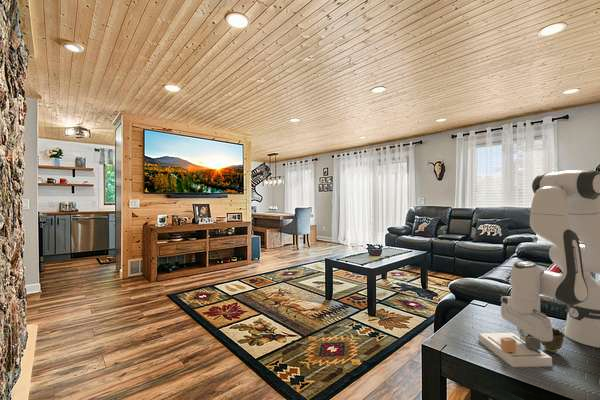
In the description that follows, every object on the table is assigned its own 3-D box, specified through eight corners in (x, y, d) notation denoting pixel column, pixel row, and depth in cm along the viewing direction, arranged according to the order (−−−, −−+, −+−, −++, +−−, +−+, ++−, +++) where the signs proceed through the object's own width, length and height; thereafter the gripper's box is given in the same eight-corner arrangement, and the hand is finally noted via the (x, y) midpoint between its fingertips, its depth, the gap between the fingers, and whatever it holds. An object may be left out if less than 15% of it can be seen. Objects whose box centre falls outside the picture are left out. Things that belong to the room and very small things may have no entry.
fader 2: (534, 346, 105) (534, 335, 105) (540, 349, 103) (540, 338, 103) (525, 346, 105) (525, 335, 105) (530, 349, 102) (530, 338, 102)
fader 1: (510, 348, 104) (510, 337, 104) (515, 351, 101) (515, 340, 101) (501, 348, 104) (501, 337, 104) (506, 352, 101) (506, 340, 101)
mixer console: (511, 339, 116) (511, 332, 116) (552, 366, 98) (552, 357, 98) (478, 340, 116) (478, 333, 116) (512, 367, 98) (512, 358, 98)
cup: (563, 350, 108) (563, 330, 108) (564, 359, 102) (564, 337, 102) (538, 344, 113) (538, 324, 113) (537, 351, 107) (537, 331, 107)
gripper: (558, 316, 97) (558, 356, 97) (512, 295, 117) (512, 328, 117) (540, 316, 97) (540, 356, 97) (497, 295, 117) (497, 328, 117)
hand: (524, 341), depth 107 cm, fingers closed
